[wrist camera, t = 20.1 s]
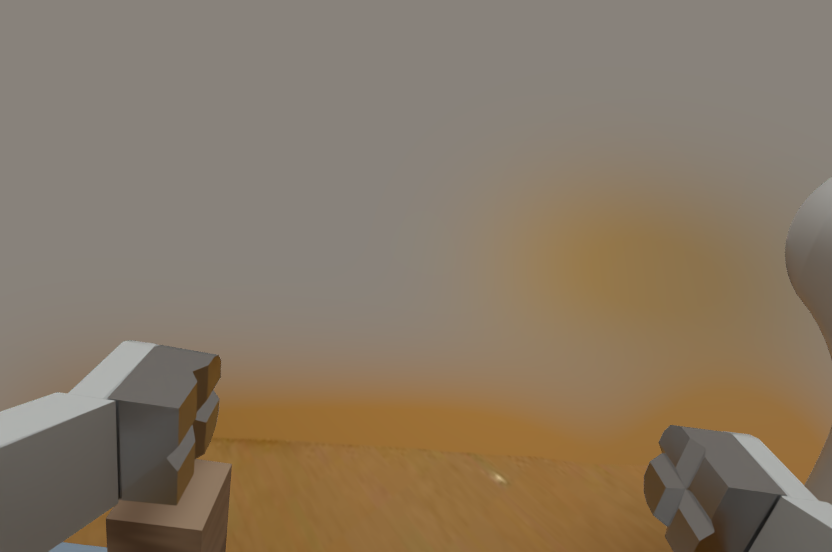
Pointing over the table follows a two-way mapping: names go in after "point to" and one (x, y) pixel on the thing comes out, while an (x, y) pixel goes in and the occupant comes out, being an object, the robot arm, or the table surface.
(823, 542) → the robot arm
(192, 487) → the pillar
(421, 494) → the table surface
